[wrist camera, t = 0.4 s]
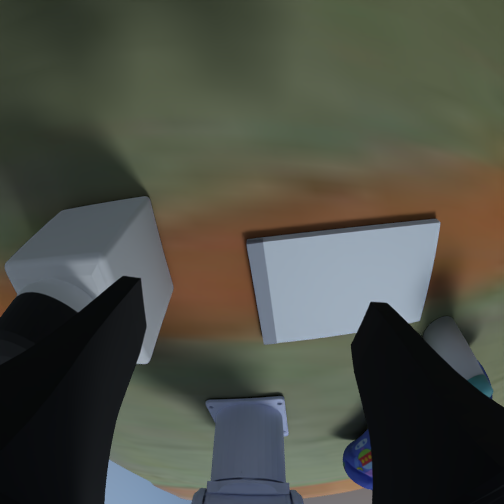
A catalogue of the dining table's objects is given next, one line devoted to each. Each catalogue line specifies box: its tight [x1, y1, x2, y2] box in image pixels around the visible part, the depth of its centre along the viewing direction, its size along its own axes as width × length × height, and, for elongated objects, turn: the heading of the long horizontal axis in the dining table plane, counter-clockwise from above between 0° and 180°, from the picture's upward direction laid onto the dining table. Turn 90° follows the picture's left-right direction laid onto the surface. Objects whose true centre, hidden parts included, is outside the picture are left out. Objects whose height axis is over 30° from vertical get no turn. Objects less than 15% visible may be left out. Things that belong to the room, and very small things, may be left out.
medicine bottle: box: [0, 196, 173, 365], centre depth 15 cm, size 7×7×12 cm
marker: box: [423, 316, 493, 398], centre depth 20 cm, size 4×4×8 cm
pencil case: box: [343, 360, 492, 491], centre depth 27 cm, size 22×9×10 cm, turn 167°
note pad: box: [247, 219, 440, 345], centre depth 21 cm, size 9×13×1 cm
